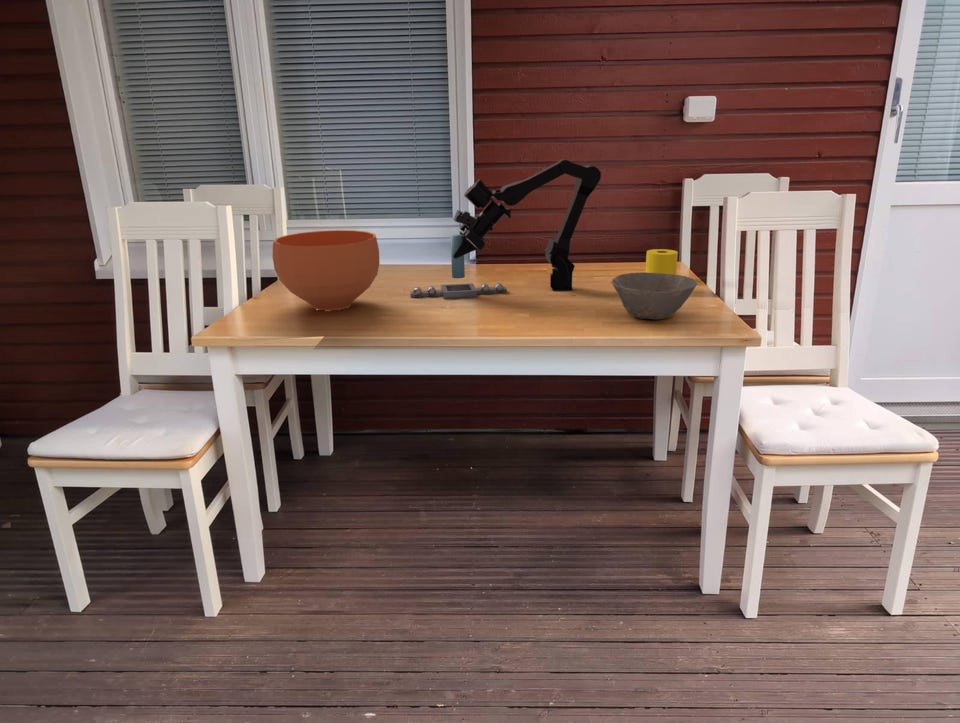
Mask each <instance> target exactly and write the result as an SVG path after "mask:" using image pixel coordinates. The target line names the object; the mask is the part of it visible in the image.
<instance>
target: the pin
mask: <svg viewBox="0 0 960 723" xmlns="http://www.w3.org/2000/svg"><path fill="white" fill-rule="evenodd" d="M461 243H462V235H461V234H460V233H459V234H458V233H457V234H451V235H450V257H451V259H450V260H451V278H452V279H463V278H465V277H466V276H465V274H466V273H465V270H466V268H465V255H463V256H461V257H458V258H456V259H455V258H454V257H453V255H454V254H455V252H456V251H457V249H458V248H459V246H460V245H461Z"/></svg>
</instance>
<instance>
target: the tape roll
mask: <svg viewBox="0 0 960 723" xmlns="http://www.w3.org/2000/svg"><path fill="white" fill-rule="evenodd" d="M678 255H679V251H677V250H675V249H674V250H673V249H664V248H660V249H659V248H656V249H655V248H653V249H648V250H646V257H645V272H644V273H662V274H673V275H677V266H678V265H677V264H678Z"/></svg>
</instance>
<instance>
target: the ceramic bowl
mask: <svg viewBox="0 0 960 723" xmlns="http://www.w3.org/2000/svg"><path fill="white" fill-rule="evenodd" d="M611 284H612V285H613V288H614V290H615V292H616V293H617V294H618V296H619V299H620V301H621V303H622V305H623V308H624V309H625V311H627V312H628V313H629V315H631V316H633V317H635V318H637V319H641V320H642V319H643V320H646V319H647V320H655V321H656V320H662V319H666V318H669V317H671V316H672V315H674V314H676V312H677V311H679V310H680V308H681V307H682V306H683V305H684V304H685V303H686V302H687V300H688V299H689V297H690V296H691V294H692V293H694V292H693V291H694V290H695V289H696V287H697V285H698V282H697V280H696V279H693V278H691V277H690V276H685V275H681V274H680V275H679V274H676V275H673V274H662V273H645V272H630V273H623V274H619V275H617V276H615V277H613V279H611Z"/></svg>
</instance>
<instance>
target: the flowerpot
mask: <svg viewBox="0 0 960 723" xmlns="http://www.w3.org/2000/svg"><path fill="white" fill-rule="evenodd" d="M272 261H273V262H272V263H273V269H274V271H275V273H276V276H277V277H278V280H279V282H280V283H281V284H283V285H284V287H285V288H286V289H287V290H288V291H289V292H290V293H291V294H293V295H294V296H296V297H297V298H299V299H302V300H303V301H304V302H306V303H308V304H310V305H311V306H312V309H313V308H315V309H318V310H338V311H341V310H340V309H343V310H345V309H344V308H347V307H349V308H351V307H352V303H353V302H354V301H356V299H358V298H359V297H360V296H361V295H362V294H363V293H365V291H367V290H368V289H370V287H371V286H372V284H373V283H374V281H375V279H376V277H377V276H378V271H379V267H380V248H379V244H378V239H377V235H376V233H373V232H371V231H370V232H369V231H365V230H357V229H354V230H353V229H351V230H350V229H348V230H347V229H335V230H334V229H332V230H330V229H328V230H327V229H326V230H315V231H302V232H297V233H290V234H286V235H285V234H284V235H281V236H278V237H276V238H275V239H274V240H273V242H272ZM350 306H351V307H350ZM315 309H314V310H315ZM347 309H348V308H347ZM318 310H317V311H318Z"/></svg>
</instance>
